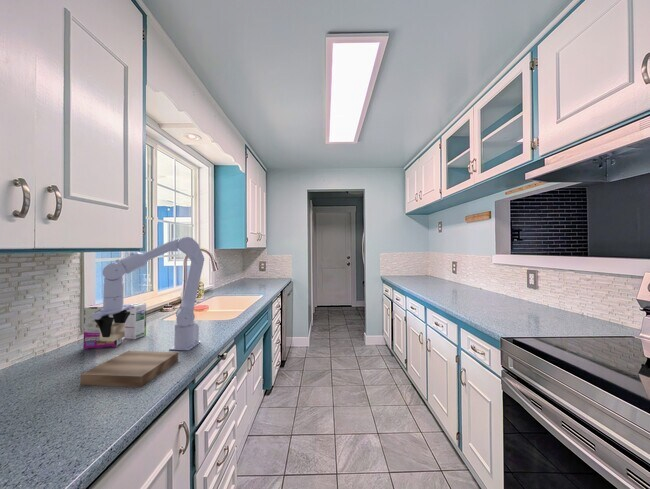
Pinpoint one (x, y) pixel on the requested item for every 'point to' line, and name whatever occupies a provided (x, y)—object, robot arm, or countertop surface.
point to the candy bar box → (95, 330)
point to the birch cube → (115, 332)
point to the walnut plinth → (130, 369)
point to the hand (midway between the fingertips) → (112, 334)
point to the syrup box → (136, 321)
